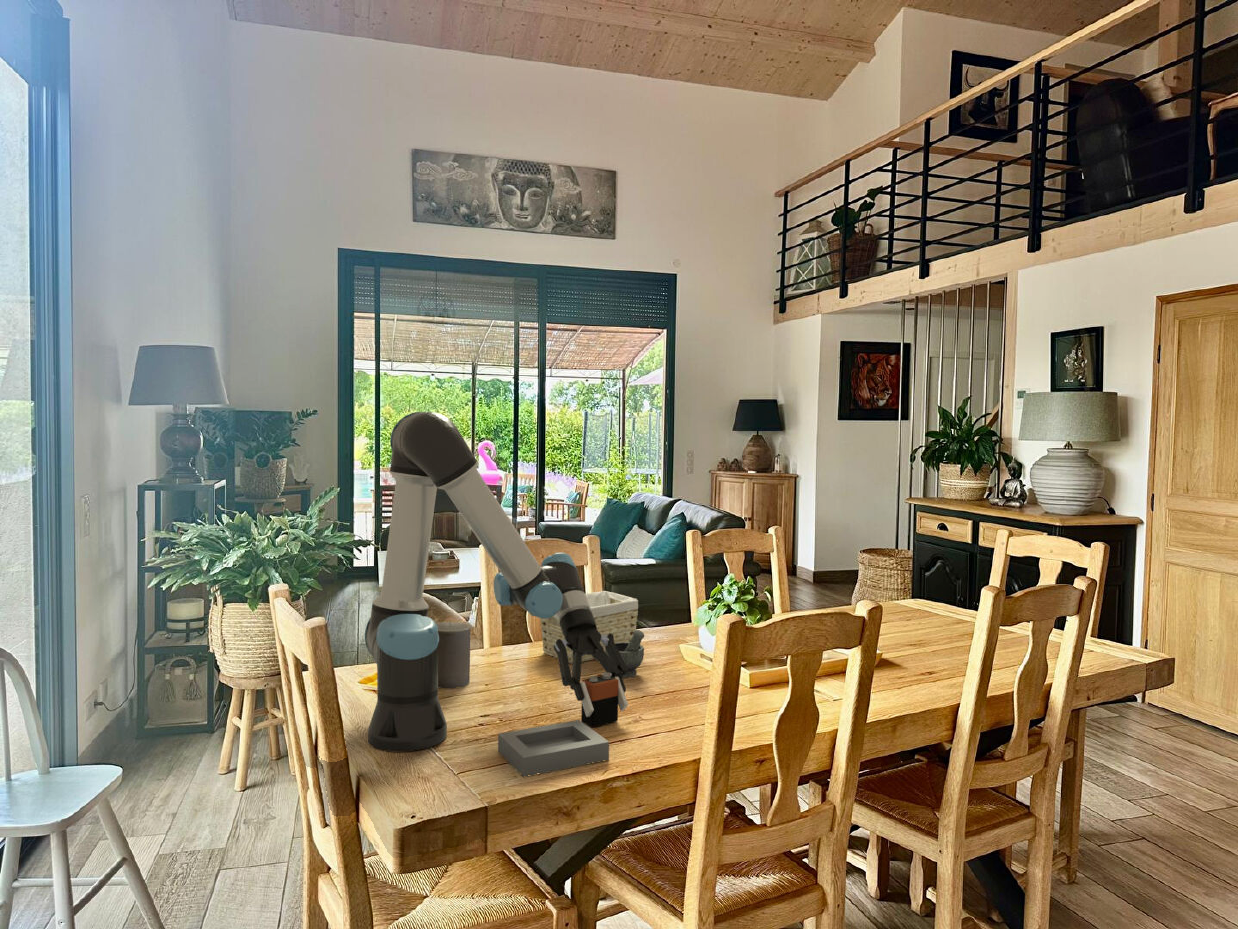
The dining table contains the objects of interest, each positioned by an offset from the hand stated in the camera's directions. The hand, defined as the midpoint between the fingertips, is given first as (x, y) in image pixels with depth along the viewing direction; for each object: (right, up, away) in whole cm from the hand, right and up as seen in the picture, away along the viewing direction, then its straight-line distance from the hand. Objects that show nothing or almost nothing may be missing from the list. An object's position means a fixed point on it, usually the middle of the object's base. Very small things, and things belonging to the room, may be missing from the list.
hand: (607, 710), depth 175 cm
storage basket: (-6, -1, +57) cm, 58 cm away
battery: (-2, -4, +3) cm, 5 cm away
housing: (-10, -4, -15) cm, 18 cm away
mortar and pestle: (+4, -2, +37) cm, 37 cm away
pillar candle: (-38, -2, +29) cm, 48 cm away
